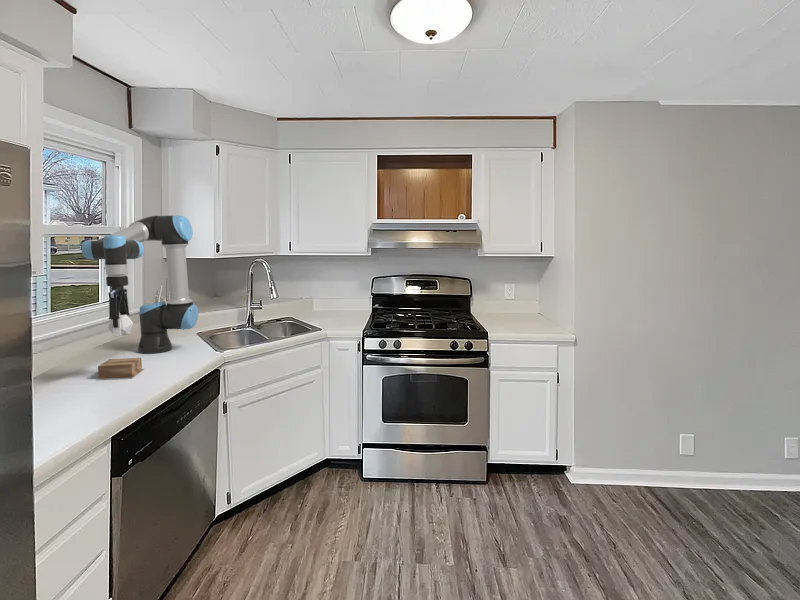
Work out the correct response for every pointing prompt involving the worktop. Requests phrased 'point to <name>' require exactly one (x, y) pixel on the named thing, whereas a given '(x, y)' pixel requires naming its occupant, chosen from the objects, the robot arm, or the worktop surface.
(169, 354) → the worktop surface
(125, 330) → the die
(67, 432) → the worktop surface
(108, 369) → the walnut brick
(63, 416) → the worktop surface
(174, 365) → the worktop surface
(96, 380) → the base plate
